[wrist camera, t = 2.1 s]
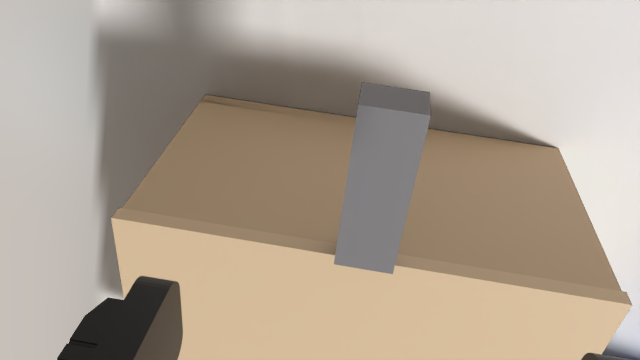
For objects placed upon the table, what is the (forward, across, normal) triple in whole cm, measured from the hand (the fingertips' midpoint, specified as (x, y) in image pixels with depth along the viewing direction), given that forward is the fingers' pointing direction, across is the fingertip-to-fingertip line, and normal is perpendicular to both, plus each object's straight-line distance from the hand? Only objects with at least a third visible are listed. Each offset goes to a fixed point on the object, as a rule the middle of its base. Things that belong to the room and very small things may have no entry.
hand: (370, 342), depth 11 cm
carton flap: (+8, 0, +10) cm, 13 cm away
